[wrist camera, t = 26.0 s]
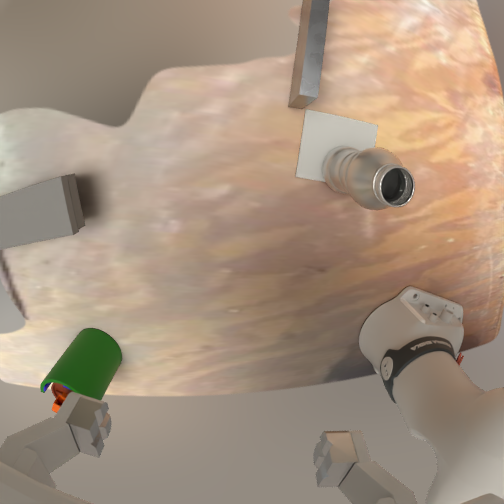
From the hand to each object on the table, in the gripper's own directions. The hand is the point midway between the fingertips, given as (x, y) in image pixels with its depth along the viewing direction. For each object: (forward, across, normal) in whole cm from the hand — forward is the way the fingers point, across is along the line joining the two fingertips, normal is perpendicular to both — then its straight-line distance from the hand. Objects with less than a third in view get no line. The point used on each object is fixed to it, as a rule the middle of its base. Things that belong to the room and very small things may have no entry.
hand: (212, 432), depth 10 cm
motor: (+39, +25, +30) cm, 55 cm away
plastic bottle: (+39, -13, -8) cm, 42 cm away
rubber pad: (+39, -12, -11) cm, 42 cm away
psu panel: (+39, -5, -25) cm, 47 cm away
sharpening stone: (+39, +35, +3) cm, 53 cm away
